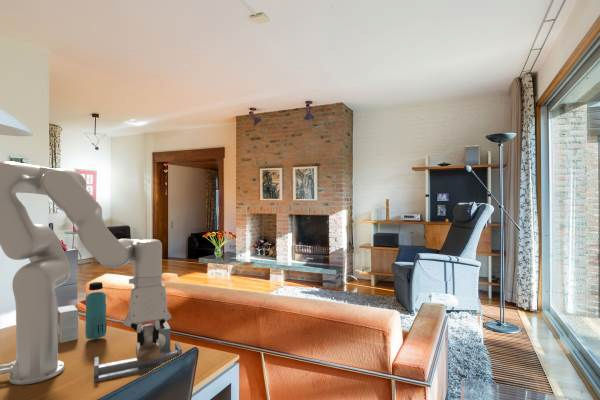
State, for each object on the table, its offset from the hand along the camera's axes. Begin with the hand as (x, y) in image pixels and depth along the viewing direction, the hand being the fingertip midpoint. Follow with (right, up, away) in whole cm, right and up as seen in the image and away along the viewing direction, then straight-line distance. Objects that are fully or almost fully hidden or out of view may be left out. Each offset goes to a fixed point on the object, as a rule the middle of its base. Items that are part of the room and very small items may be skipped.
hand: (147, 342), depth 106 cm
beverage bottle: (-26, -7, +19) cm, 33 cm away
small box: (-37, -7, +20) cm, 43 cm away
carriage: (0, -4, 0) cm, 4 cm away
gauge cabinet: (-2, -7, +9) cm, 12 cm away
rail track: (-2, -7, -1) cm, 7 cm away
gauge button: (-1, +1, +9) cm, 10 cm away
